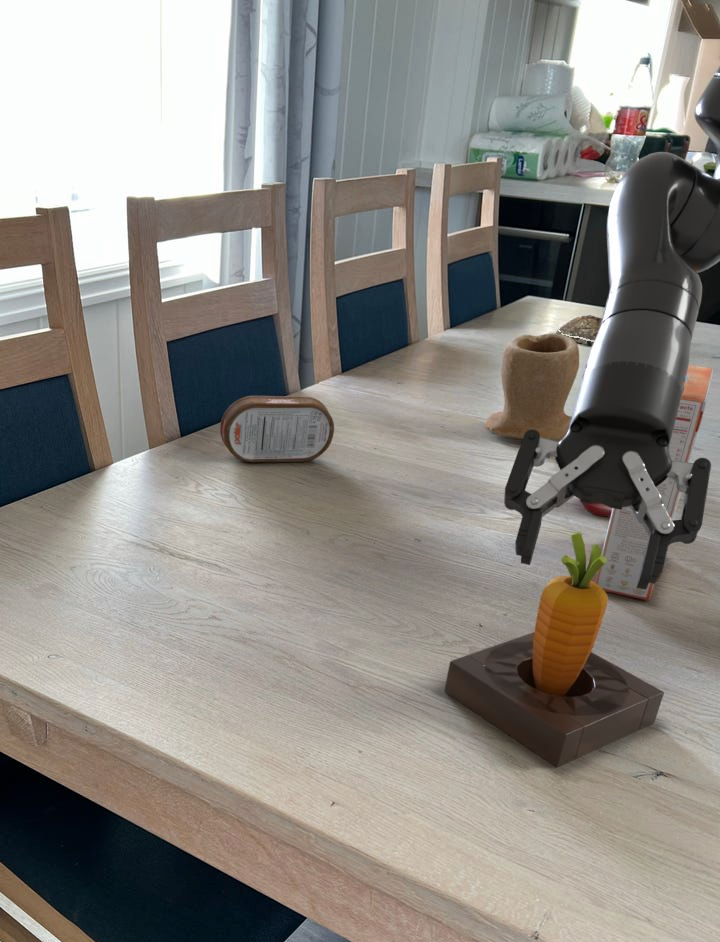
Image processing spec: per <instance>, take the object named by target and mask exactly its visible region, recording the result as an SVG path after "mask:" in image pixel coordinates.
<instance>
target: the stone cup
mask: <svg viewBox="0 0 720 942" xmlns="http://www.w3.org/2000/svg"><path fill="white" fill-rule="evenodd" d="M579 368H580V348H579V345H578V343H577V342H575V341H574V340H573V339H571V338H569V337H567V336H563V335H559V334H556V333H544V334H539V335H531V334H523V335H519V336H517V337H515V338H513V339H511V340H510V341H509V342H507V344H506V346H505V347H504V350H503V354H502V361H501V370H500V376H501V377H500V378H501V379H500V380H501V386H502V391H503V399H504V404H503V410H502V411H499V412H494V413H492V414H491V415H489V416H488V417H487V418H486V419H485V424H484V425H485V428H486V430H487V431H489V432H490V433H491V434H492V435H496V436H500V437H503V438H510V439H516V440H522V439H523V437H524V434H525V432H526V431H528V430H531V429H534V430H537V431H538V432H539V434H540V438H544V439H549V440H553V441H558V442H560V441H561V440H562V439H563V438H564V437H565V436H566V434H567V432H568V430H569V426H570V422H571V419H572V415H568V414H566V413H565V406H566V403H567V400H568V397H569V395H570V393H571V390H572V387H573V385H574V383H575V380H576V377H577V374H578V372H579Z"/></svg>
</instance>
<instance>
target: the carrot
mask: <svg viewBox="0 0 720 942" xmlns="http://www.w3.org/2000/svg"><path fill="white" fill-rule="evenodd" d="M570 535H571V536H570V537H571V544H572V548H573V552H574V556H575V559H574V558H572V557H570V556H568V555H566V554H565V555H563V556H562V557H561V562H562V564H563V565H565V567H566V569H567V572H568V573H569V575H567V576H566V575H564V576H556V577H553V578H552V579H551V580H550V581H549V583H548V584H547V585H546V586H545V587H544V589H543V590H542V592H541V595H540V600H539V605H538V608H537V609H538V610H537V614H536V621H535V624H534V625H535V627H534V631H533V632H534V637H533V675H534V680H535V685H536V687H535V689H536V690H538V691H541V692H544V693H547V694H550V695H555V696H562V697H565V695H567V694H566V693H567V691H568V690H569V689H570V687H571V686H572V685H573V683H574V682H575V680H576V679H577V677H578V676H579V674H580V672H581V670H582V668H583V666H584V665H585V663H586V661H587V659H588V657H589V654H590V652H592V651H593V648H594V646H595V643H596V640H597V637H598V635H599V631H600V628H601V626H602V622H603V619H604V617H605V612H606V610H607V606H608V601H609V597H608V594H607V592H606V591H604V590H603V589H602V588H601V587H599V586H598V585H597V584H596V583H595V581H593V580H592V579H593V578H594V576H595V575H597V571H598V570H599V569H600V568H601V567H602V566H603V565H604V564H605V563H606V561H607V559H606V558H605V557H604V556H602V551H603V548H601V547H600V546H599V545H598V544H594V543H593V544H592V545H591V550H590V555H589V561H588V564H587V554H586V547H585V542H584V538H583V533H581V532H577V531H575V532H574V533H572V534H570Z"/></svg>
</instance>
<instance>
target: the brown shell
mask: <svg viewBox="0 0 720 942" xmlns="http://www.w3.org/2000/svg"><path fill="white" fill-rule="evenodd" d="M601 321H602V317H598V316H595V315H592V314H588V315H581V316H576V317H575V318H573V319H571V320H570V321H568V322H566V323H565V324H563V325H562V326H560V327H559V328H560V329H559V328H558V329H559V330H560V331H561V332H559V331H558V329H557V330H556V332H555V334H559V335H562V334H561V333H563V334H567V335H570V336H579V337H583V338H586V339H590V340H595V339H596V337H597V334H598V331H599V328H600V324H601ZM563 336H566V335H563ZM567 337H569V336H567ZM569 338H571V339H573V340H574V341H575V342H576V343H577V344H581V345H584V346H591V347H592V345H593V343H594V342H591V341H586V340H583V339H580V338H574V337H569Z"/></svg>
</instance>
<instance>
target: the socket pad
mask: <svg viewBox="0 0 720 942" xmlns="http://www.w3.org/2000/svg"><path fill="white" fill-rule="evenodd" d="M533 637H534V631H533V632H531V633H528V634H525V635H522V636H519V637H516V638H513V639H510V640H507V641H504V642H501V643H498V644H495V645H493V646H490V647H487V648H484V649H480V650H477V651H475V652H472V653H469V654H468V655H467V654H466V655H464V656H461V657H459V658H455V659H452V660H450V661H449V665H448V669H447V674H446V681H445V686H444V692H445V693H446V694H447V695H448V696H450V697H452V698H453V699H455V700H456V701H457V702H459V703H460V704H462V705H463V706H464V707H467V708H468V709H470V710H471V711H472V712H474V713H476V714H477V715H478V716H480V717H481V718H483V719H485V720H486V721H488V722H489V723H491V724H492V725H493V726H495V727H496V728H497V729H499V730H501V731H502V732H504V733H506V735H509V736H510V737H511V738H513V739H514V740H516V741H517V742H519V743H520V744H522V745H523V746H525V747H526V748H527V749H529V750H530V751H531V752H533V753H535V754H536V755H538V756H539V757H541V758H542V759H544V760H546V761H547V762H548V763H550V764H551V765H552V766H554V767H556V768H559V767H561V766H564V765H565V764H568V763H570V762H572V761H575V760H576V759H578V758H580V757H583V756H584V755H587V754H589V753H591V752H593V751H595V750H598V749H600V748H602V747H604V746H607V745H609V744H611V743H613V742H615V741H617V740H620V739H622V738H624V737H625V736H628V735H630V734H632V733H635V732H637V731H640V730H642V729H644V728H646V727H648V726H650V725H653V724H655V722H656V719H657V716H658V713H659V710H660V707H661V703H662V700H663V698H664V694H665V691H663V690H662V689H660V688H658V687H655V686H654V685H652V684H650V683H649V682H646V680H645V681H644V680H643V679H641V678H640V677H637V676H636V675H634V674H632V673H631V672H628V671H627V670H625V669H623V668H621V667H620V666H618V665H615V664H614V663H613V662H610V661H609V660H607V659H605V658H603V657H602V656H600V655H597V654H596V653H594V652H592V651H591V652H590V654H589V657H588V659H587V661H586V663H585V665H584V666H583V668H582V670H581V672H580V674H579V676H578V677H577V679H576V680H575V682H574V683H573V685H572V686H571V687H570V689H569V690H568V691H567V693H566V694H565V695H568V696H563V697H562V696H555V695H550V694H547V693H544V692H541V691H538V690H537V689H536V685H535V680H534V675H533Z"/></svg>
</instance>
